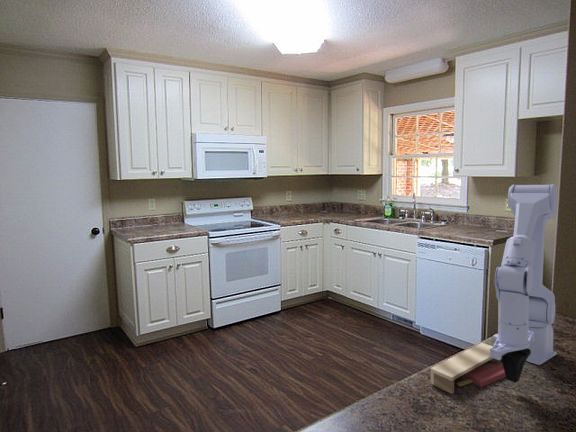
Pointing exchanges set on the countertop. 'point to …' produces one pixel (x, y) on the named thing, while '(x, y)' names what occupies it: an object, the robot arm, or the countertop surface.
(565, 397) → the countertop surface
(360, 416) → the countertop surface
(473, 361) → the rail
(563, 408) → the countertop surface
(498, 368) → the popsicle
